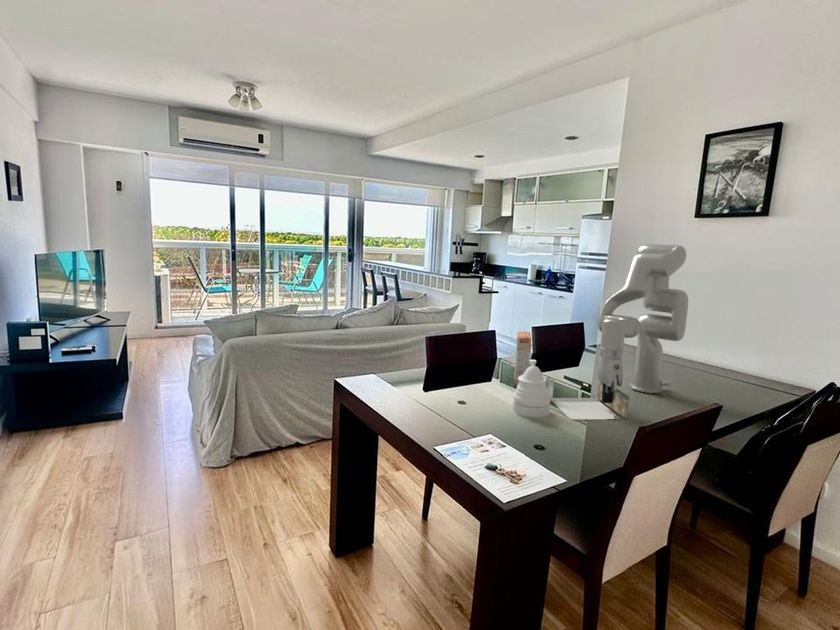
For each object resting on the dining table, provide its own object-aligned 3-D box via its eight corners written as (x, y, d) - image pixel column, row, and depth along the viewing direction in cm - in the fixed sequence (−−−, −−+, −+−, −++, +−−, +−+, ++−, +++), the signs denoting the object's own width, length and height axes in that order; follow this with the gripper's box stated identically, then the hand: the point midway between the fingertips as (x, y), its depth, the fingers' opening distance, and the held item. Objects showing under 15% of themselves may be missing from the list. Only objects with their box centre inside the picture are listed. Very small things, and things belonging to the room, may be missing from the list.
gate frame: (607, 399, 177) (609, 378, 175) (610, 402, 174) (612, 380, 172) (543, 399, 175) (544, 377, 174) (546, 402, 172) (547, 380, 171)
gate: (597, 398, 176) (598, 379, 174) (601, 398, 176) (602, 379, 175) (622, 417, 157) (624, 396, 155) (627, 417, 157) (629, 396, 155)
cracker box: (528, 387, 190) (531, 338, 187) (514, 385, 191) (516, 337, 188) (527, 377, 203) (530, 331, 200) (514, 376, 205) (516, 330, 201)
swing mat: (599, 402, 173) (599, 401, 173) (621, 419, 156) (621, 419, 156) (553, 402, 172) (553, 401, 172) (570, 420, 155) (570, 419, 155)
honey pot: (510, 403, 170) (512, 356, 167) (544, 404, 170) (547, 357, 167) (516, 416, 157) (518, 366, 154) (553, 417, 157) (557, 367, 154)
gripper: (632, 358, 155) (627, 409, 158) (611, 348, 169) (607, 395, 172) (610, 358, 154) (606, 410, 157) (592, 348, 169) (588, 395, 172)
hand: (606, 402), depth 165 cm, fingers closed
